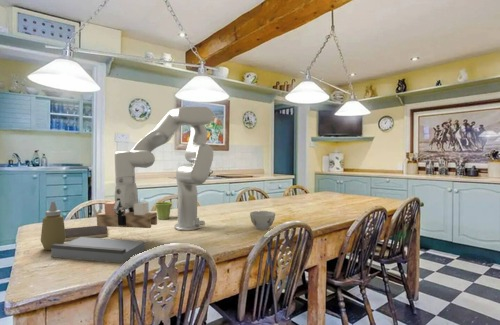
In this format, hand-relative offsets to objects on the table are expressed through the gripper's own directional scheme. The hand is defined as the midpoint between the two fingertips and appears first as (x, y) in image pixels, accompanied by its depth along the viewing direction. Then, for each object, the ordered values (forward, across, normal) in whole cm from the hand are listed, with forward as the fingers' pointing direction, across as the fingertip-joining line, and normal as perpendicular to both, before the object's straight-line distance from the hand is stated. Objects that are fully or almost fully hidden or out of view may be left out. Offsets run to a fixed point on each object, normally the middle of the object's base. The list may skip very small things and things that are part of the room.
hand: (127, 222), depth 121 cm
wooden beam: (+1, 0, 0) cm, 1 cm away
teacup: (+10, +32, -52) cm, 62 cm away
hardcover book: (+8, +2, +26) cm, 27 cm away
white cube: (-4, 0, -7) cm, 8 cm away
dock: (+7, -16, +1) cm, 17 cm away
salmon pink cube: (-4, 0, +7) cm, 8 cm away
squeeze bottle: (+7, -15, +22) cm, 27 cm away
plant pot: (+9, +41, +5) cm, 42 cm away
